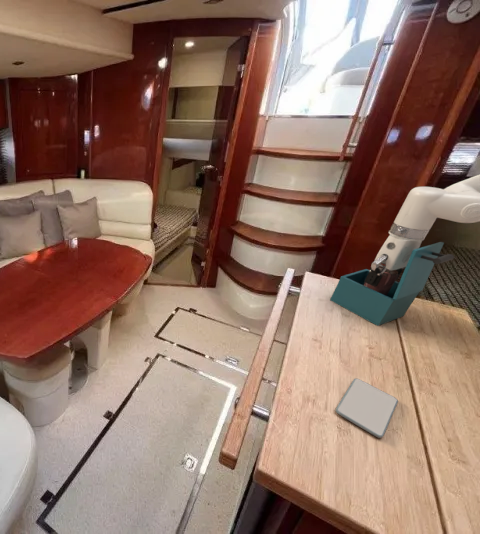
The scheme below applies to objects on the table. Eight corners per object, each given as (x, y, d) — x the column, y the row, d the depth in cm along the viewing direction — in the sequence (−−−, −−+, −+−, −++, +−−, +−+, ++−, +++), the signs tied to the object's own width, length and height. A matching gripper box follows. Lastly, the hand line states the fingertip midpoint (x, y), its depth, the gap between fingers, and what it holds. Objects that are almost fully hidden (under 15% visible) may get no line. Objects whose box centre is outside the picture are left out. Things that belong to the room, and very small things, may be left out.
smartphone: (399, 399, 71) (382, 438, 63) (397, 401, 71) (380, 441, 63) (355, 376, 77) (335, 409, 69) (353, 379, 77) (333, 412, 69)
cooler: (329, 300, 106) (341, 276, 101) (354, 292, 109) (366, 268, 104) (377, 326, 94) (393, 300, 89) (403, 316, 97) (419, 291, 92)
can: (360, 310, 99) (381, 274, 92) (350, 299, 104) (369, 264, 97) (382, 313, 98) (405, 276, 91) (371, 301, 103) (392, 265, 96)
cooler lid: (412, 249, 83) (437, 255, 78) (440, 241, 86) (465, 247, 82) (392, 298, 89) (414, 306, 85) (418, 289, 92) (440, 296, 88)
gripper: (405, 241, 82) (376, 293, 90) (443, 231, 87) (412, 281, 95) (373, 231, 88) (349, 280, 97) (410, 222, 93) (384, 270, 102)
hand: (380, 280), depth 96 cm, fingers open, 9 cm apart
